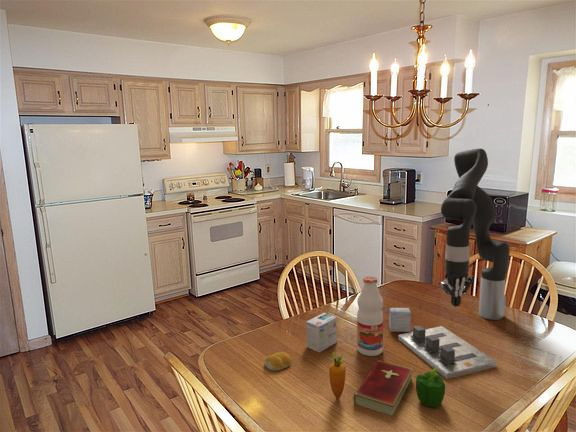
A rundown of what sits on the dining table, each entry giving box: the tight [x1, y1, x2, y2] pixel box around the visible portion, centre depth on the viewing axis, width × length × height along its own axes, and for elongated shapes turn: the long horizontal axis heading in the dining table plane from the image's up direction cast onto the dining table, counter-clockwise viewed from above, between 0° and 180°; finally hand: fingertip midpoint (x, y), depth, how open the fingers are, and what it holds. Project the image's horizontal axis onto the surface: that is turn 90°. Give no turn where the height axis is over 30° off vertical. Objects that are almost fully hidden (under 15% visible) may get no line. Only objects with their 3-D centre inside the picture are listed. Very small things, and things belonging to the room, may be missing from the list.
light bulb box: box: [305, 312, 338, 353], centre depth 156 cm, size 11×7×11 cm, turn 134°
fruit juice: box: [356, 275, 384, 357], centre depth 149 cm, size 9×9×28 cm
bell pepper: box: [415, 368, 446, 409], centre depth 120 cm, size 8×8×10 cm
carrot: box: [328, 352, 347, 400], centre depth 123 cm, size 5×5×15 cm
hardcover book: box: [353, 359, 414, 417], centre depth 127 cm, size 12×21×4 cm, turn 149°
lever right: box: [411, 325, 426, 342], centre depth 153 cm, size 4×4×4 cm
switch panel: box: [397, 325, 497, 380], centre depth 148 cm, size 20×28×2 cm
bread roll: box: [264, 351, 292, 372], centre depth 144 cm, size 8×9×4 cm
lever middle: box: [424, 335, 441, 352], centre depth 146 cm, size 4×4×4 cm
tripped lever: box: [438, 345, 457, 364], centre depth 138 cm, size 4×4×4 cm
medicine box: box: [388, 307, 412, 333], centre depth 166 cm, size 8×4×9 cm, turn 84°
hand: (455, 305), depth 140 cm, fingers closed
